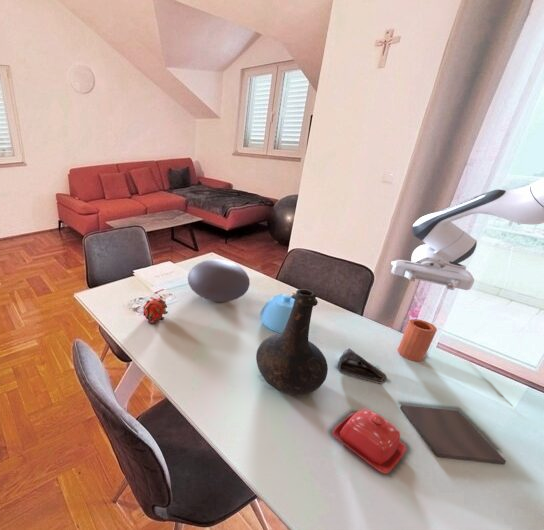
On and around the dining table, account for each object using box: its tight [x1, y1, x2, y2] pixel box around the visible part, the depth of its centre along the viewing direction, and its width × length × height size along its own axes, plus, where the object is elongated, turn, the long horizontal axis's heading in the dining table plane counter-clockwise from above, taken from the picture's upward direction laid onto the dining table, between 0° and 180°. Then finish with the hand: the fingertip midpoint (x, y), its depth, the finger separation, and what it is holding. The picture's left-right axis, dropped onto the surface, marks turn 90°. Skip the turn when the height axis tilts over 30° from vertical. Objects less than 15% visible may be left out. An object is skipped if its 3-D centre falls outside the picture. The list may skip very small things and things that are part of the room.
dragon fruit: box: [142, 297, 169, 324], centre depth 115 cm, size 8×8×12 cm
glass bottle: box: [255, 288, 329, 396], centre depth 82 cm, size 18×18×28 cm
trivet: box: [399, 404, 507, 465], centre depth 73 cm, size 13×13×1 cm
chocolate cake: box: [337, 347, 388, 385], centre depth 92 cm, size 10×7×12 cm
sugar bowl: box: [259, 293, 295, 334], centre depth 111 cm, size 15×15×12 cm
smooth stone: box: [187, 259, 251, 303], centre depth 129 cm, size 25×25×15 cm
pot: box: [397, 318, 438, 362], centre depth 96 cm, size 6×6×11 cm
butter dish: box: [332, 408, 407, 475], centre depth 69 cm, size 12×12×8 cm
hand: (431, 283), depth 98 cm, fingers open, 8 cm apart
